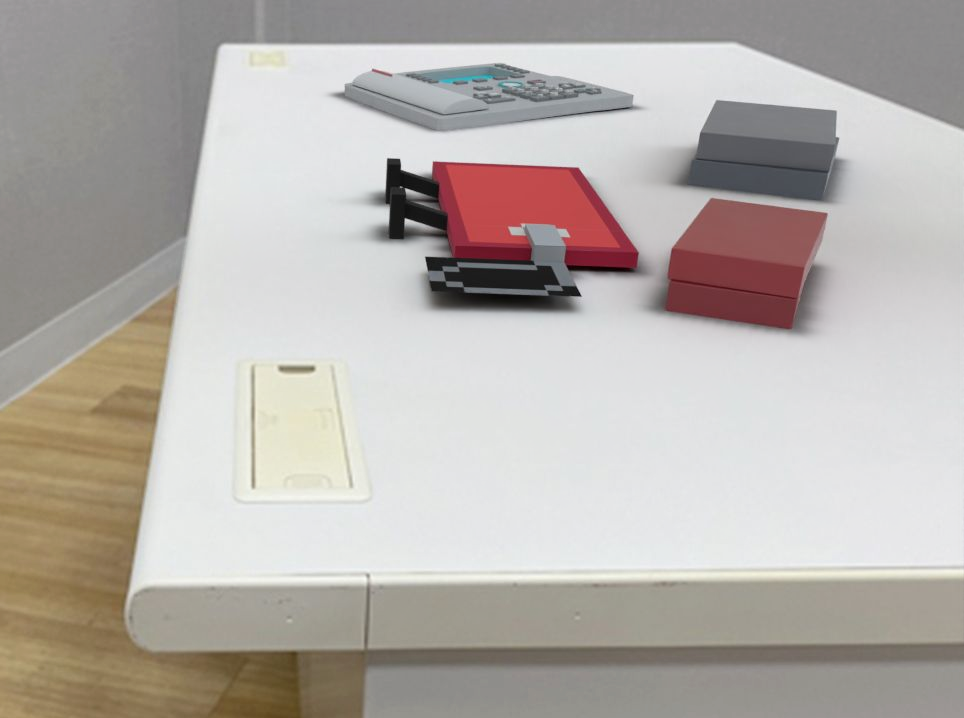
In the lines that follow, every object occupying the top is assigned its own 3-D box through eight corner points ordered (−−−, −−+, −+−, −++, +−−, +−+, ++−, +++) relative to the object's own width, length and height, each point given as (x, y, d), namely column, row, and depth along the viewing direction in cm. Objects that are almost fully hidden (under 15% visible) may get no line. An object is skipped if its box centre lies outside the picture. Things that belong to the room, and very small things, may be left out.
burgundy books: (798, 332, 66) (813, 268, 64) (660, 311, 69) (670, 249, 67) (815, 269, 76) (828, 211, 74) (694, 252, 78) (703, 196, 76)
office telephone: (441, 103, 105) (323, 65, 119) (439, 134, 107) (323, 94, 120) (637, 79, 116) (507, 47, 130) (633, 108, 117) (506, 74, 131)
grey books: (822, 202, 90) (834, 146, 88) (681, 185, 93) (690, 131, 91) (834, 161, 101) (846, 111, 99) (708, 147, 104) (717, 98, 102)
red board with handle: (396, 306, 67) (662, 316, 68) (399, 256, 66) (670, 266, 66) (383, 178, 93) (576, 186, 93) (384, 140, 91) (580, 148, 92)
